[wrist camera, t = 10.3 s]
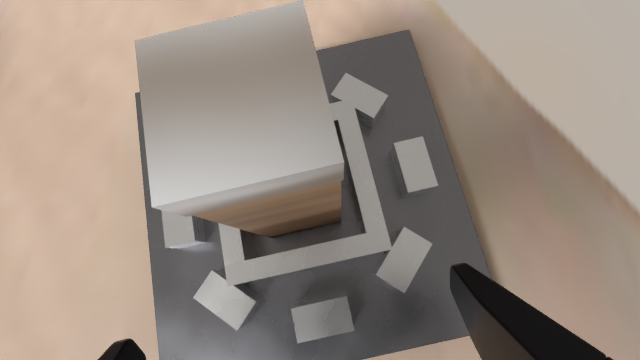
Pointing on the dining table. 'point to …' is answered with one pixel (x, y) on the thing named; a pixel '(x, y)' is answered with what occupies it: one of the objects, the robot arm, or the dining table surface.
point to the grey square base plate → (330, 238)
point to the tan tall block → (241, 123)
